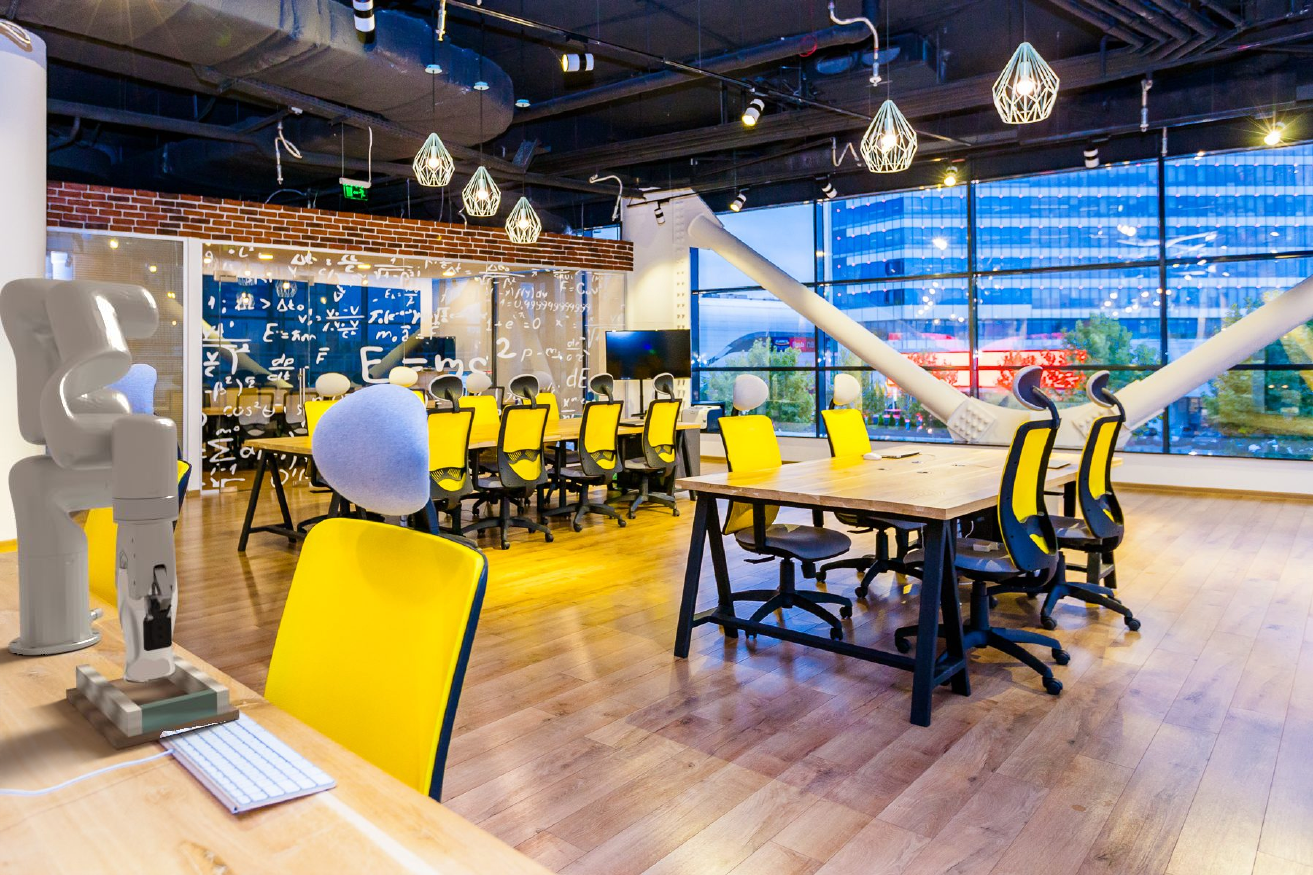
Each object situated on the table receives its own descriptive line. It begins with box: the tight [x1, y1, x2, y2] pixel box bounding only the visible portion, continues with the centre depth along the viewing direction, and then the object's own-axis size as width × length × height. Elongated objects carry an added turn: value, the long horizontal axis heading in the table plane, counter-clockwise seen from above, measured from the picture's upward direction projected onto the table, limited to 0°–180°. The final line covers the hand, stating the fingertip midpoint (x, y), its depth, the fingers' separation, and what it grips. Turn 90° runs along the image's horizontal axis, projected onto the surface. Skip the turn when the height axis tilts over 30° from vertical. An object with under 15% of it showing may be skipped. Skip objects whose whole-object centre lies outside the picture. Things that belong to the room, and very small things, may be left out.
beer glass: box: [116, 566, 179, 683], centre depth 116 cm, size 7×7×15 cm
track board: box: [65, 651, 240, 751], centre depth 116 cm, size 24×14×4 cm, turn 46°
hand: (149, 641), depth 116 cm, fingers closed on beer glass, 6 cm apart
